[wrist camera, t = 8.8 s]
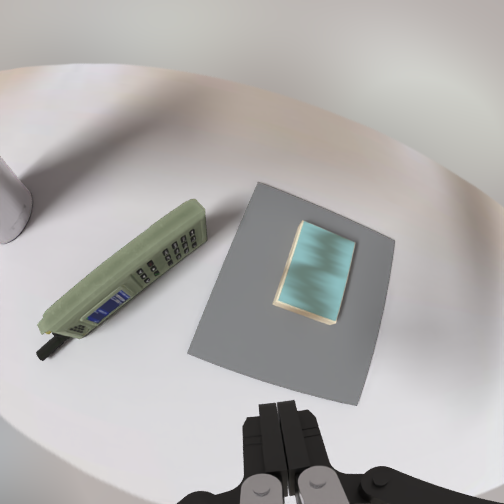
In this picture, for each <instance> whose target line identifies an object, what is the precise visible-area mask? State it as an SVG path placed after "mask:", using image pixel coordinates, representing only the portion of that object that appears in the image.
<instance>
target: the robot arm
mask: <svg viewBox="0 0 504 504" xmlns="http://www.w3.org/2000/svg"><path fill="white" fill-rule="evenodd" d="M31 210H32V196H31V193H30V191H29V190H28V189H27V188H26V187H25V186H24V184H23V183H22V182H21V181H20V180H19V179H18V177H17V176H16V175H15V174H14V172H13V171H12V170H11V169H10V168H9V166H8V165H7V164H6V163H5V161H4V160H3V159H2V158H1V156H0V244H5V243H8V242H10V241H12V240H13V239H15V238H16V237H17V236H18V235H19V234H20V233H21V231H22V230H23V229H24V227H25V225H26V224H27V221H28V219H29V217H30V214H31ZM277 412H278V413H277ZM259 414H260V416H257V417H247V419H246V421H245V423H244V425H243V458H244V477H243V480H242V482H241V483H240V485H238V486H237V487H236V488H235V489H233V490H231V491H228V492H224V493H221V494H217V495H214V494H212V493H210V492H206V491H197V492H193V493H190V494H188V495H187V496H186V497H184V498H183V499H182V500H181V501H180V502H178V503H177V504H285V500H284V497H286V496H288V490H289V496H293V495H295V497H296V502H297V504H504V503H499V502H494V501H489V500H485V499H481V498H477V497H473V496H469V495H466V494H462V493H459V492H455V491H452V490H449V489H446V488H442V487H439V486H436V485H434V484H431V483H428V482H425V481H422V480H420V479H417V478H414V477H412V476H409V475H407V474H404V473H402V472H399V471H397V470H394V469H392V468H389V467H386V466H378V467H374V468H372V469H370V470H368V471H367V472H366V473H365V474H345V473H341V472H339V471H337V470H335V469H334V468H333V467H332V466H331V464H330V462H329V459H328V456H327V452H326V449H325V446H324V443H323V439H322V436H321V433H320V430H319V427H318V423H317V420H316V417H315V416H314V415H313V414H312V413H311V412H310V411H309V410H302V411H297V408H296V404H295V401H294V400H291V401H284V402H277V407H276V403H269V404H259Z"/></svg>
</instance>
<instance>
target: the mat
mask: <svg viewBox="0 0 504 504" xmlns="http://www.w3.org/2000/svg"><path fill="white" fill-rule="evenodd" d="M302 220H303V221H306V222H308V223H311V224H313V225H315V226H318V227H320V228H323V229H325V230H327V231H330V232H332V233H334V234H337V235H339V236H341V237H344V238H346V239H348V240H351V241H353V242H355V248H354V253H353V257H352V262H351V266H350V271H349V275H348V279H347V283H346V287H345V291H344V295H343V299H342V303H341V307H340V311H339V314H338V318H337V321H336V324H332V325H328V324H325V323H322V322H319V321H317V320H314V319H311V318H308V317H305V316H302V315H300V314H297V313H294V312H291V311H289V310H286V309H283V308H280V307H278V306H275V305H272V304H273V301H274V298H275V295H276V292H277V289H278V286H279V283H280V280H281V277H282V274H283V271H284V268H285V265H286V262H287V259H288V256H289V253H290V250H291V247H292V244H293V241H294V238H295V235H296V232H297V229H298V226H299V224H300V223H301V221H302ZM394 244H395V241H394V240H392V239H390V238H388V237H386V236H384V235H382V234H380V233H378V232H375V231H373V230H371V229H369V228H367V227H365V226H362V225H360V224H358V223H356V222H354V221H351V220H349V219H347V218H345V217H342V216H340V215H338V214H336V213H333V212H331V211H329V210H326V209H324V208H322V207H319V206H317V205H315V204H312V203H310V202H307V201H305V200H303V199H300V198H298V197H295V196H293V195H290V194H288V193H285V192H283V191H280V190H278V189H275V188H273V187H270V186H267V185H265V184H262V183H260V182H258V183H257V186H256V188H255V190H254V193H253V195H252V197H251V200H250V202H249V204H248V207H247V209H246V211H245V214H244V216H243V218H242V221H241V223H240V225H239V228H238V230H237V232H236V235H235V237H234V240H233V242H232V244H231V247H230V249H229V251H228V254H227V256H226V259H225V261H224V263H223V266H222V268H221V271H220V273H219V276H218V278H217V280H216V283H215V285H214V288H213V290H212V293H211V295H210V298H209V300H208V302H207V305H206V307H205V310H204V312H203V315H202V317H201V320H200V322H199V325H198V327H197V330H196V332H195V335H194V337H193V340H192V342H191V345H190V348H189V350H188V353H187V354H190V355H192V356H195V357H197V358H200V359H202V360H205V361H207V362H210V363H212V364H215V365H218V366H220V367H223V368H226V369H229V370H231V371H234V372H237V373H240V374H243V375H246V376H249V377H252V378H255V379H258V380H261V381H264V382H267V383H270V384H273V385H277V386H280V387H283V388H287V389H290V390H294V391H297V392H301V393H304V394H308V395H312V396H316V397H320V398H324V399H328V400H332V401H336V402H341V403H345V404H350V405H354V406H357V404H358V401H359V398H360V395H361V392H362V389H363V386H364V383H365V379H366V376H367V373H368V369H369V366H370V362H371V359H372V355H373V351H374V347H375V344H376V340H377V336H378V331H379V327H380V323H381V318H382V314H383V309H384V304H385V299H386V294H387V289H388V283H389V277H390V271H391V265H392V258H393V251H394Z"/></svg>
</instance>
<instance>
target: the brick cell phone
mask: <svg viewBox="0 0 504 504" xmlns="http://www.w3.org/2000/svg"><path fill="white" fill-rule="evenodd" d="M206 241H207V232H206V217H205V209H204V208H203V206H202V205H201V204H200V203H199V202H198V201H197V200H196V199H191V200H189V201H186V202H184V203H183V204H181V205H180V206H178V207H177V208H176V209H174V210H173V211H171V212H170V213H168V214H167V215H166V216H164V217H163V218H161V219H160V220H158V221H157V222H156V223H154V224H153V225H151V226H150V228H148V229H147V230H146V231H144V232H143V233H141V234H140V235H139V236H137V237H136V238H135V239H133V240H132V241H131V242H129V243H128V244H127V245H125V246H124V247H123V248H121V249H120V250H119V251H118V252H116V253H115V254H114V255H112V256H111V257H110V258H108V259H107V260H106V261H105V262H103V263H102V264H101V265H100V266H98V267H97V268H96V269H95V270H93V271H92V272H91V273H90V274H88V275H87V276H86V277H85V278H84V279H82V280H81V281H80V282H79V283H78V284H76V285H75V286H74V287H73V288H72V289H70V290H69V291H68V292H67V293H66V294H65V295H63V296H62V297H61V298H60V299H59V300H58V301H56V302H55V303H54V304H53V305H52V306H51V307H50V308H49V309H47V310H46V311H45V313H44V314H43V318H42V320H41V321H40V322H39V323H38V324H37V325H38V328H39V330H40V332H41V334H42V335H43V334H44V333H46V334H50V333H51V332H52V334H53V335H54V337H53V338H52V339H51V340H49V341H48V342H47V343H46V344H45V345H44V346H43V347H41V348H40V349H39V350H38V351H37V352H36V354H37V356H38V358H39V359H40V360H42V361H44V360H45V359H46V358H47V357H48V356H49V355H50V354H52V353H53V352H54V351H55V350H56V349H57V348H58V347H60V346H61V345H62V344H63V343H64V341H66V340H67V339H69V338H70V337H73V338H78V339H81V338H83V337H84V336H85V335H86V334H87V333H89V332H90V331H91V330H92V329H94V328H95V327H96V326H98V325H99V324H100V323H101V322H103V321H104V320H105V319H106V318H108V317H109V316H110V315H111V314H112V313H114V312H115V311H116V310H117V309H119V308H120V307H121V306H123V305H124V304H125V303H126V302H128V301H129V300H130V299H131V298H133V297H134V296H135V295H137V294H138V293H139V292H140V291H142V290H143V289H144V288H146V287H147V286H148V285H149V284H151V283H152V282H153V281H155V280H156V279H157V278H158V277H160V276H161V275H162V274H164V273H165V272H166V271H167V270H169V269H170V268H171V267H173V266H174V265H175V264H177V263H178V262H179V261H180V260H182V259H183V258H184V257H186V256H187V255H188V254H190V253H191V252H192V251H194V250H195V249H196V248H198V247H199V246H200V245H202V244H203V243H204V242H206Z"/></svg>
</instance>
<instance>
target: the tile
mask: <svg viewBox="0 0 504 504" xmlns="http://www.w3.org/2000/svg"><path fill="white" fill-rule="evenodd" d="M354 248H355V242H353V241H351V240H348V239H346V238H344V237H341V236H339V235H337V234H334V233H332V232H330V231H327V230H325V229H323V228H320V227H318V226H315V225H313V224H311V223H308V222H306V221H303V220H302V221H301V223H300V224H299V226H298V229H297V232H296V235H295V238H294V241H293V244H292V247H291V250H290V253H289V256H288V259H287V262H286V265H285V268H284V271H283V274H282V277H281V280H280V283H279V286H278V289H277V292H276V295H275V298H274V301H273V304H272V305H275V306H278V307H280V308H283V309H286V310H289V311H291V312H294V313H297V314H300V315H302V316H305V317H308V318H311V319H314V320H317V321H319V322H322V323H325V324H328V325H332V324H336V321H337V318H338V314H339V311H340V307H341V303H342V299H343V295H344V291H345V287H346V283H347V279H348V275H349V271H350V266H351V262H352V257H353V253H354Z"/></svg>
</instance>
